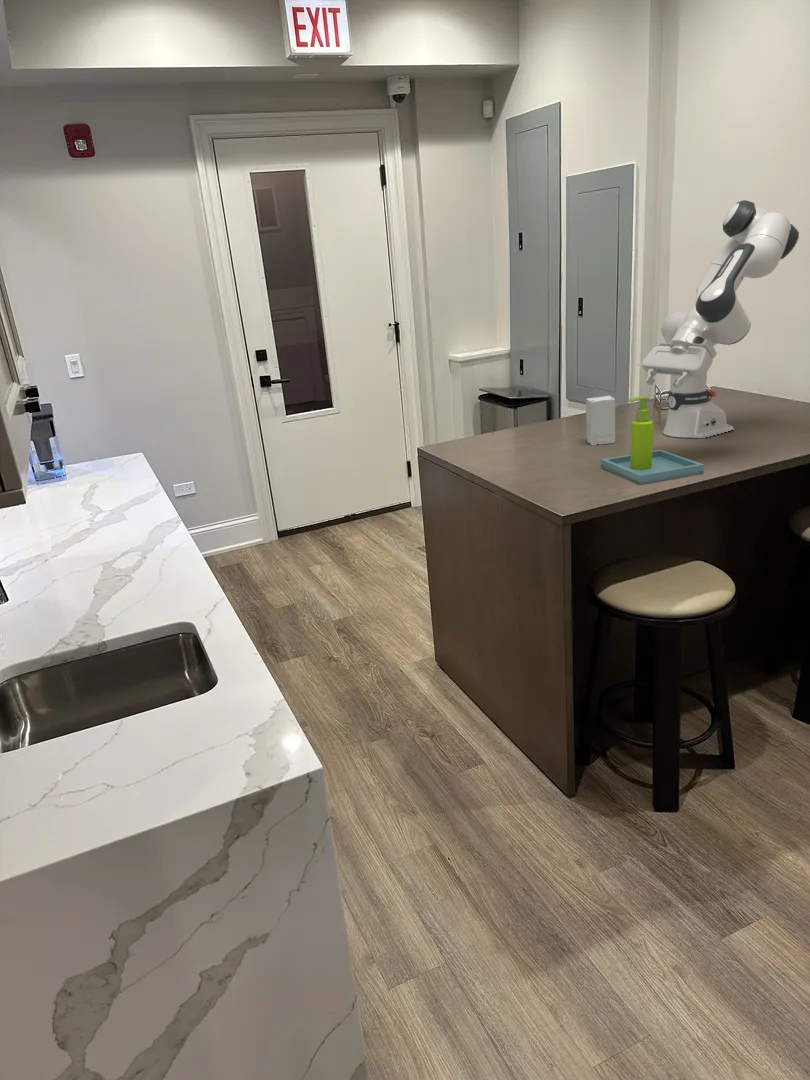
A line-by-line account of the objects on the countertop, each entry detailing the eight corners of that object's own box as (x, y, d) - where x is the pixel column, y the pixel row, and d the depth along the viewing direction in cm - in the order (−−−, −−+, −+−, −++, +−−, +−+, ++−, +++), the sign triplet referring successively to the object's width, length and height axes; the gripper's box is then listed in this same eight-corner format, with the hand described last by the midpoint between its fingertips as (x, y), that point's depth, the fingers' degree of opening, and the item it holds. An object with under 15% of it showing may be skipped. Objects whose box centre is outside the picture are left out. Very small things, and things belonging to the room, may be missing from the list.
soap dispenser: (623, 465, 213) (625, 396, 206) (646, 463, 214) (649, 394, 207) (631, 470, 208) (633, 400, 201) (655, 468, 208) (657, 397, 201)
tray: (660, 457, 221) (660, 449, 220) (703, 473, 203) (704, 464, 202) (600, 467, 216) (601, 459, 215) (639, 484, 198) (640, 475, 197)
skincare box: (610, 439, 246) (611, 395, 241) (615, 443, 240) (616, 398, 235) (585, 441, 246) (585, 397, 241) (590, 446, 240) (590, 400, 235)
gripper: (652, 336, 215) (628, 375, 214) (712, 339, 199) (686, 381, 198) (662, 350, 219) (638, 388, 218) (722, 354, 203) (696, 395, 202)
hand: (661, 385), depth 208 cm, fingers open, 8 cm apart
